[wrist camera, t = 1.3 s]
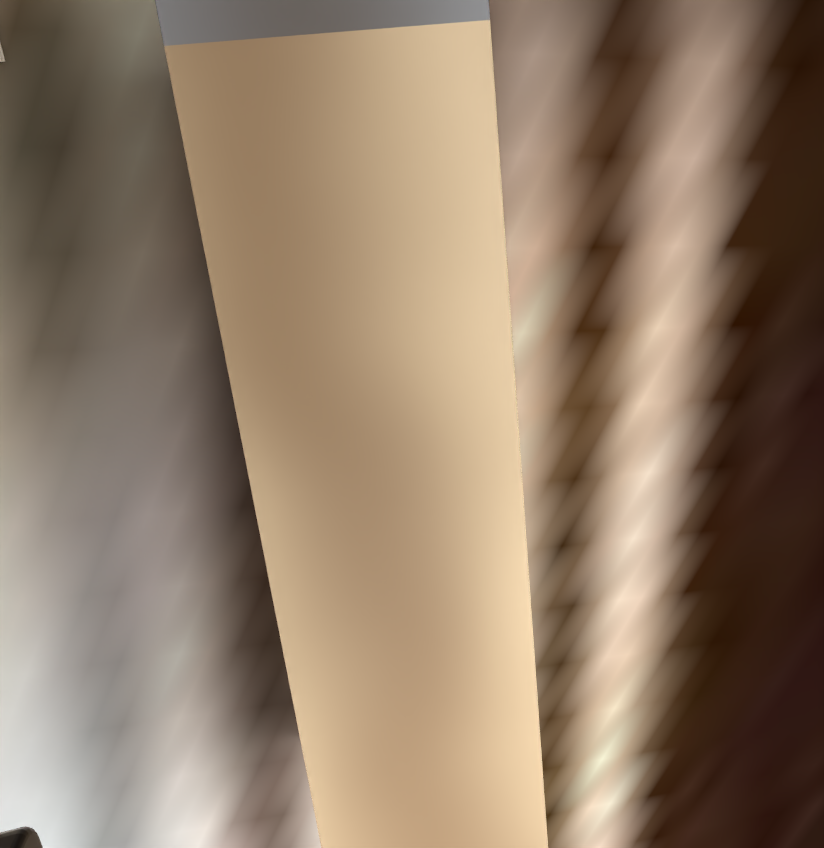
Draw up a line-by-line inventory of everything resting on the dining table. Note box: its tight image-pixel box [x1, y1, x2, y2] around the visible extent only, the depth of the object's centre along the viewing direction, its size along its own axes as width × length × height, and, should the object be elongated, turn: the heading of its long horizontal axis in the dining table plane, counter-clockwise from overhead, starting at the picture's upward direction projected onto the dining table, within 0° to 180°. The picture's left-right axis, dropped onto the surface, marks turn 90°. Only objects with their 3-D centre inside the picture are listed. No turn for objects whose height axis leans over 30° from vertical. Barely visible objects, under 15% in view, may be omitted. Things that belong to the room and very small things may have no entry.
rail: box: [155, 0, 548, 848], centre depth 14 cm, size 4×16×6 cm, turn 6°
